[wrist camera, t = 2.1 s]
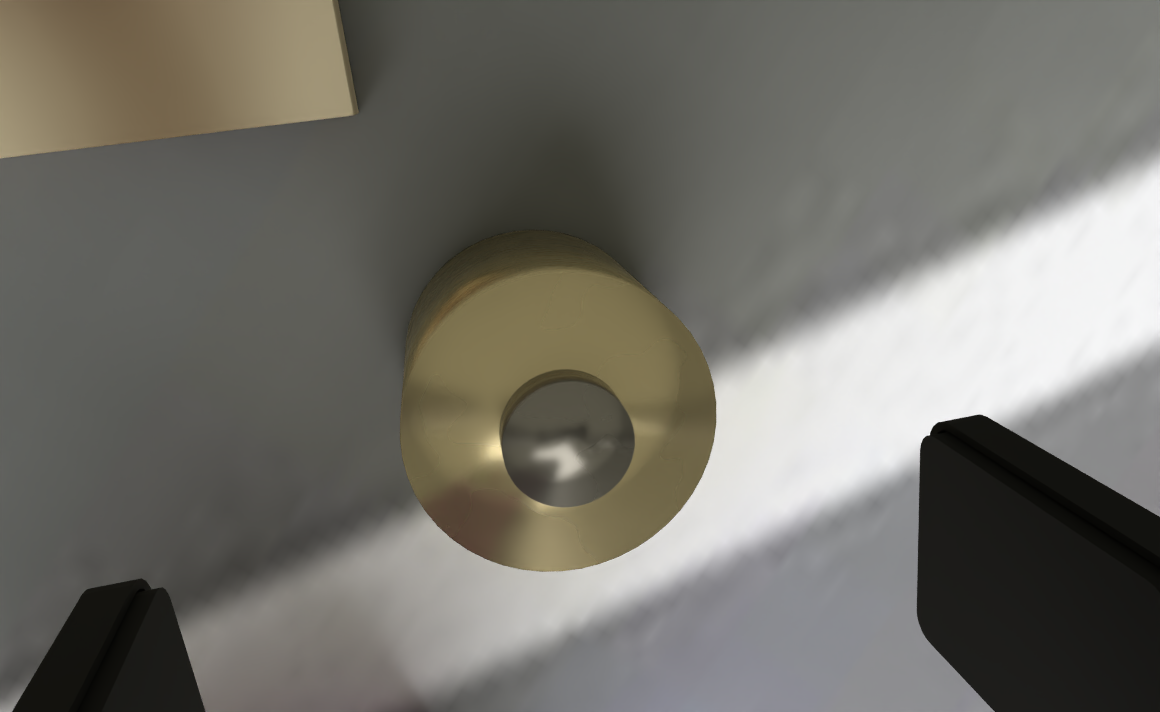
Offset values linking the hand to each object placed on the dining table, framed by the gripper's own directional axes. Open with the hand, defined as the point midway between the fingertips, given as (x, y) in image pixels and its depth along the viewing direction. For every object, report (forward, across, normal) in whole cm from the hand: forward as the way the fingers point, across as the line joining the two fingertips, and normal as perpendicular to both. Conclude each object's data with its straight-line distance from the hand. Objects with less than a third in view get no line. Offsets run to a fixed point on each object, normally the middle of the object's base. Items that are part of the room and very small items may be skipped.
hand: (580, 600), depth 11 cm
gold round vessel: (+11, -1, 0) cm, 11 cm away
